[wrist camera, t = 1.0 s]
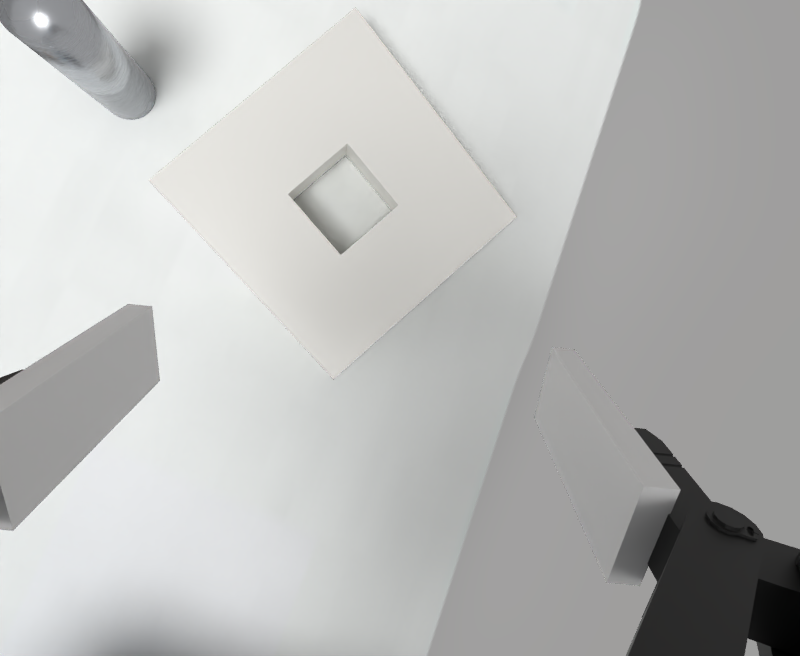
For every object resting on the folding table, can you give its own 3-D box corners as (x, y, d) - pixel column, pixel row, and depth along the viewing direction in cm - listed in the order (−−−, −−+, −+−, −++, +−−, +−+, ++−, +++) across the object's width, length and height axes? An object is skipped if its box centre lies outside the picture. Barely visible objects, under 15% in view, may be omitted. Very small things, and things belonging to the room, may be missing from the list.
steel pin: (127, 130, 37) (35, 59, 25) (88, 87, 36) (-26, -6, 25) (166, 97, 37) (93, 12, 25) (128, 54, 37) (35, -54, 25)
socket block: (332, 371, 41) (333, 379, 38) (164, 189, 38) (148, 180, 34) (501, 222, 42) (516, 216, 39) (352, 31, 39) (355, 7, 36)
